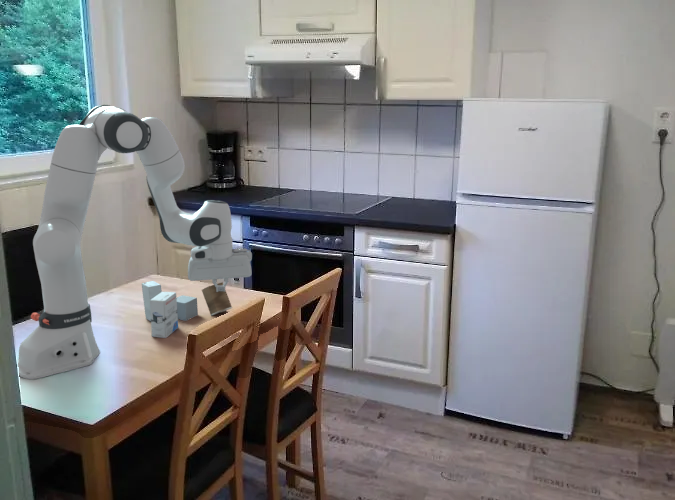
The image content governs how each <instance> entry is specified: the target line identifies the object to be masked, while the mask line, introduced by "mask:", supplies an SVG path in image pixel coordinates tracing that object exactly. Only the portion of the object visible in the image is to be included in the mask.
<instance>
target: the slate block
mask: <svg viewBox="0 0 675 500" xmlns="http://www.w3.org/2000/svg"><path fill="white" fill-rule="evenodd" d="M176 298H177V315H178V320H179V319H180V321H184V322H187V321H189V320H191V319H193V318H195V317H196V316H198V315H199V312H198V311H199V310H198V309H199V308H198V298H197V297H194V296H189V295H184V294H183V295H180V296H178V297H177V296H176ZM190 318H191V319H190Z"/></svg>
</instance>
